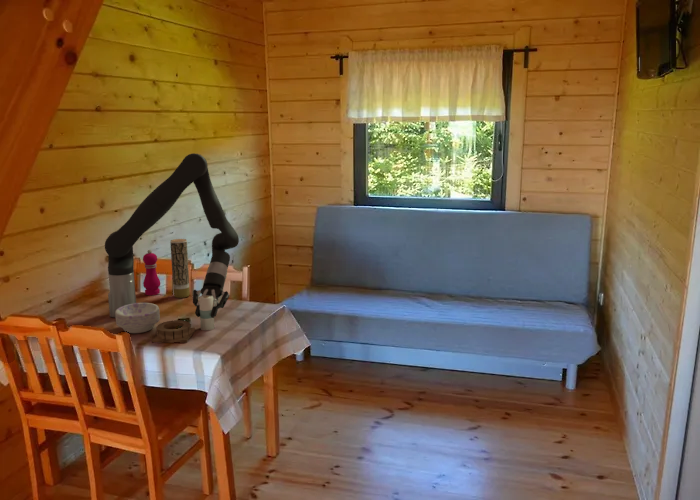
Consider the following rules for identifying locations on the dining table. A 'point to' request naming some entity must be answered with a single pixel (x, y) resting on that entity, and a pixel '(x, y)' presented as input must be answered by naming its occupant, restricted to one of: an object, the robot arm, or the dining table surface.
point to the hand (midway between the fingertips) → (205, 316)
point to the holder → (173, 332)
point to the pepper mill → (151, 274)
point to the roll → (206, 312)
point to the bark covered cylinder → (180, 268)
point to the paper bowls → (137, 317)
